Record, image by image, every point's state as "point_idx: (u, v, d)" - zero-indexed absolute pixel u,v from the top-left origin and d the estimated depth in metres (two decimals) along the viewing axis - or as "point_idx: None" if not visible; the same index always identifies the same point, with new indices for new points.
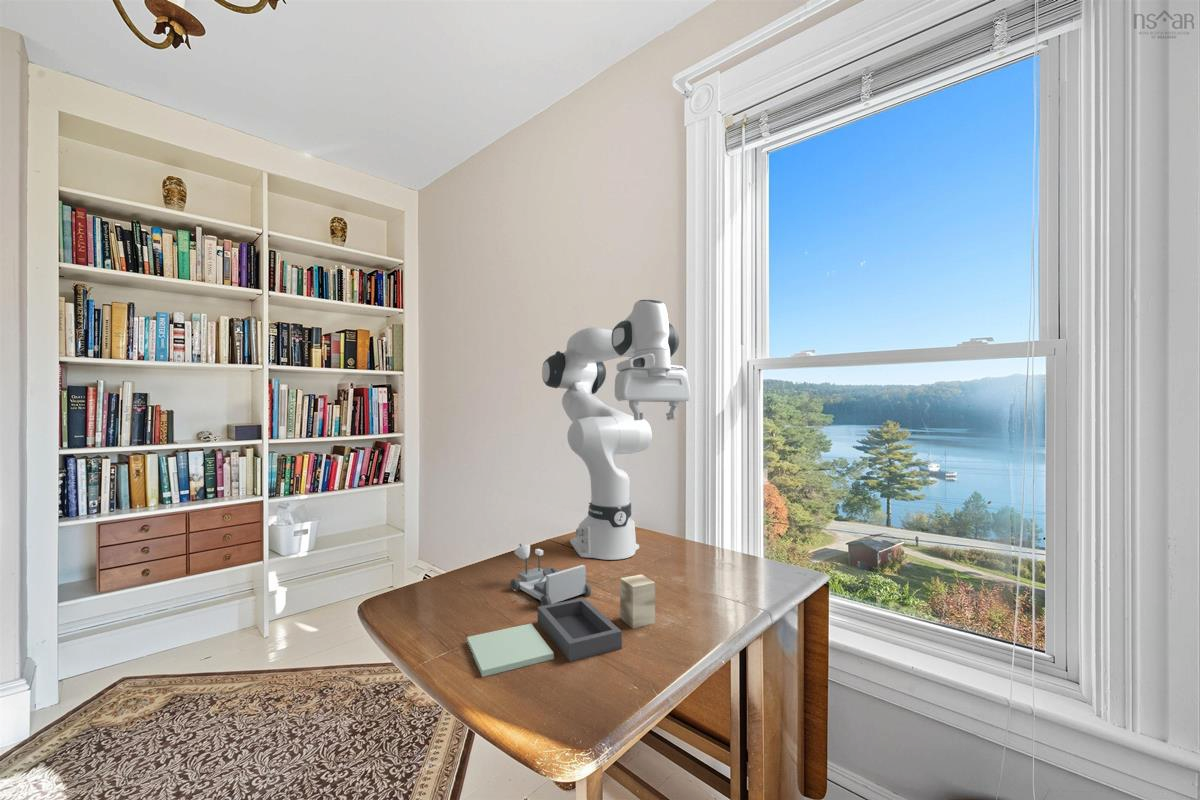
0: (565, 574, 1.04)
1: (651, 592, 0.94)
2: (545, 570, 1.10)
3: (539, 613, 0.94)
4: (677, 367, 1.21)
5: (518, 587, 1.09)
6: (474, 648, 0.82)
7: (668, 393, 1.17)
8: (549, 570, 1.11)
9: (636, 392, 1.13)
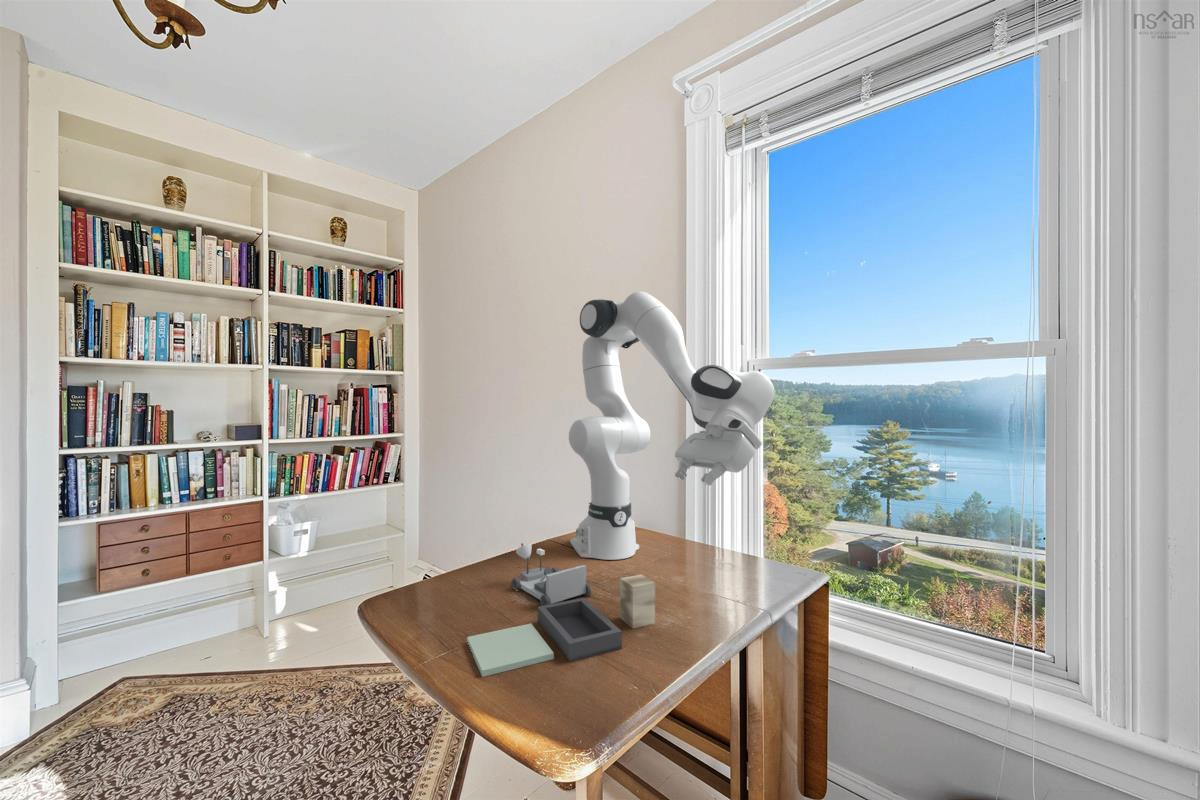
0: (565, 574, 1.04)
1: (651, 592, 0.94)
2: (546, 570, 1.10)
3: (539, 613, 0.94)
4: None
5: (519, 586, 1.10)
6: (474, 648, 0.82)
7: None
8: (550, 570, 1.11)
9: None
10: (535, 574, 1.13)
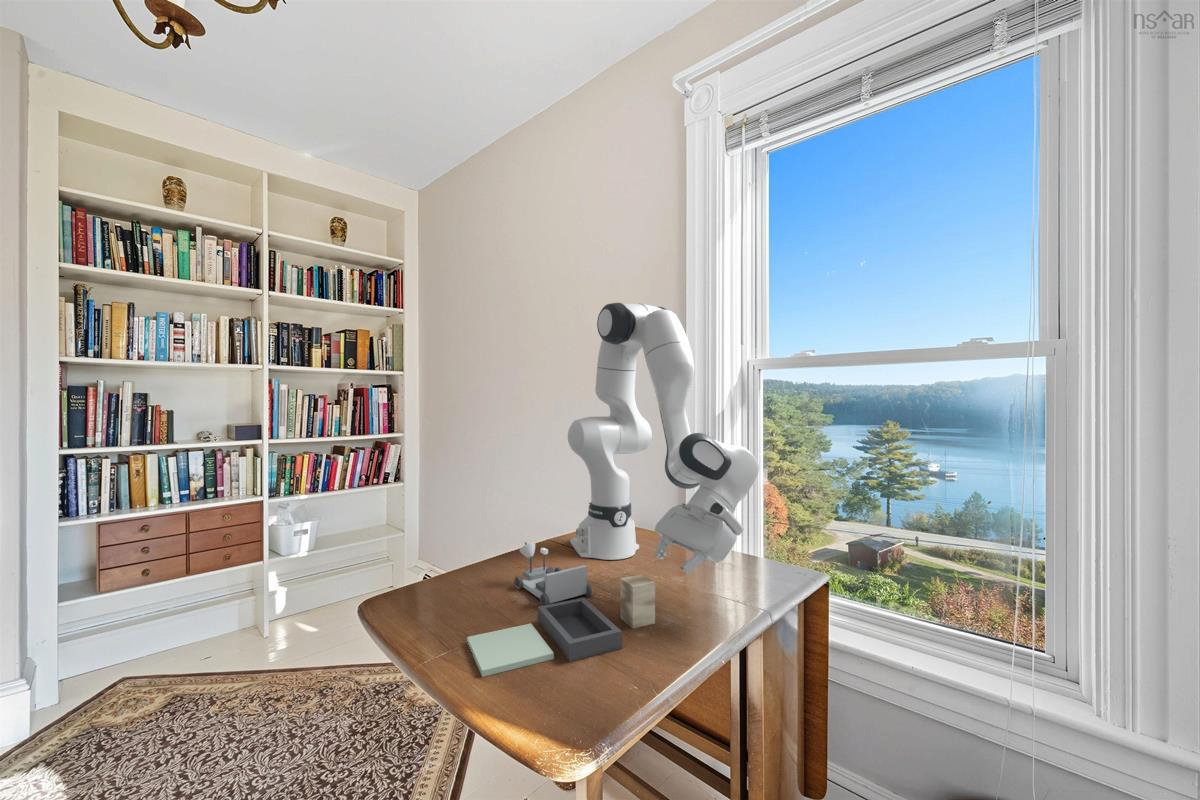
0: (565, 574, 1.04)
1: (651, 592, 0.94)
2: (548, 569, 1.11)
3: (539, 613, 0.94)
4: None
5: (521, 585, 1.10)
6: (474, 648, 0.82)
7: None
8: (552, 569, 1.11)
9: None
10: (538, 573, 1.14)
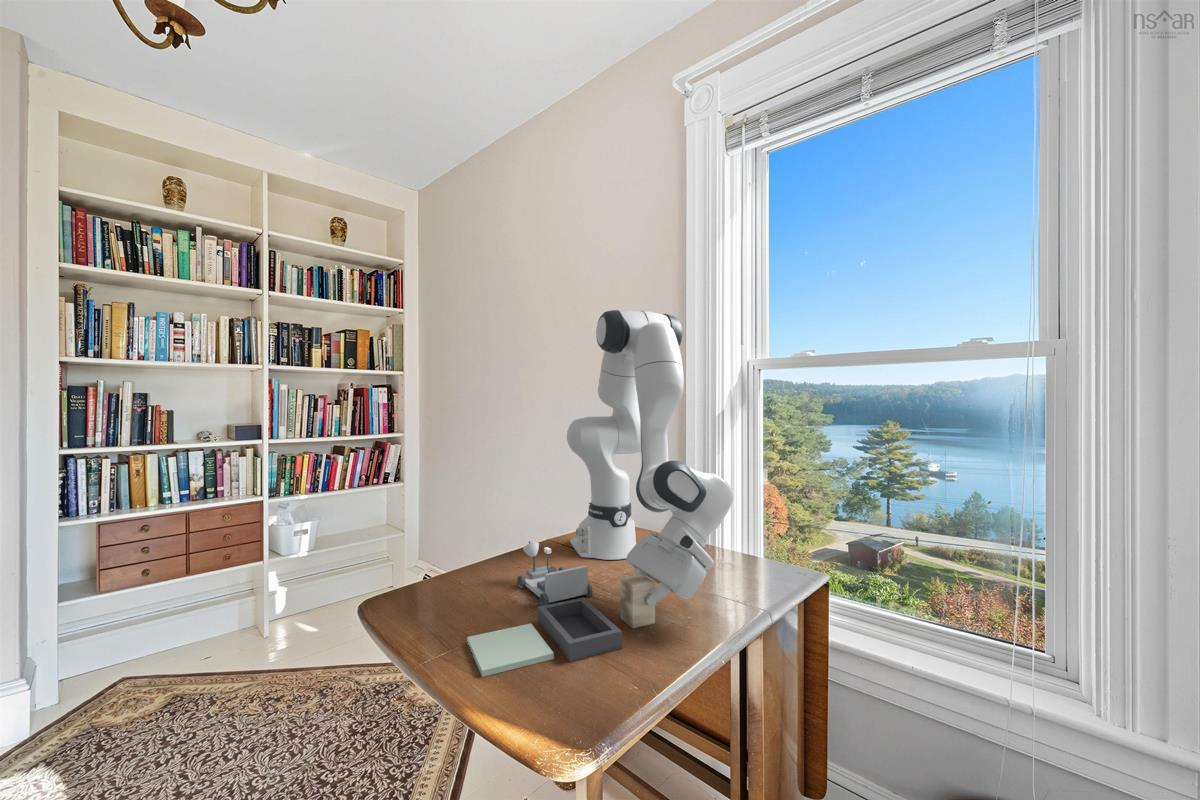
0: (565, 574, 1.04)
1: (651, 592, 0.94)
2: (550, 569, 1.11)
3: (539, 613, 0.94)
4: None
5: (523, 584, 1.11)
6: (474, 648, 0.82)
7: None
8: (554, 569, 1.11)
9: None
10: (541, 572, 1.14)
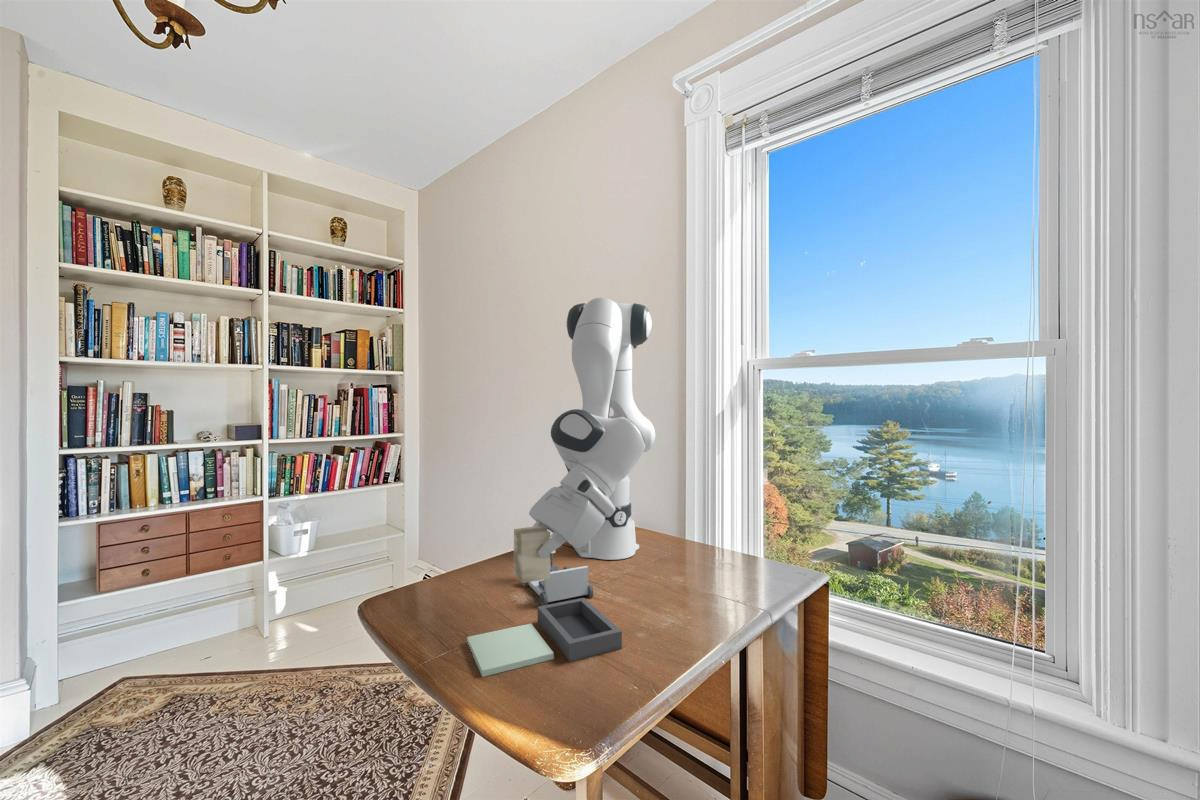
0: (565, 573, 1.04)
1: None
2: (552, 568, 1.11)
3: (539, 613, 0.94)
4: None
5: (526, 582, 1.12)
6: (474, 648, 0.82)
7: None
8: (557, 568, 1.12)
9: None
10: None
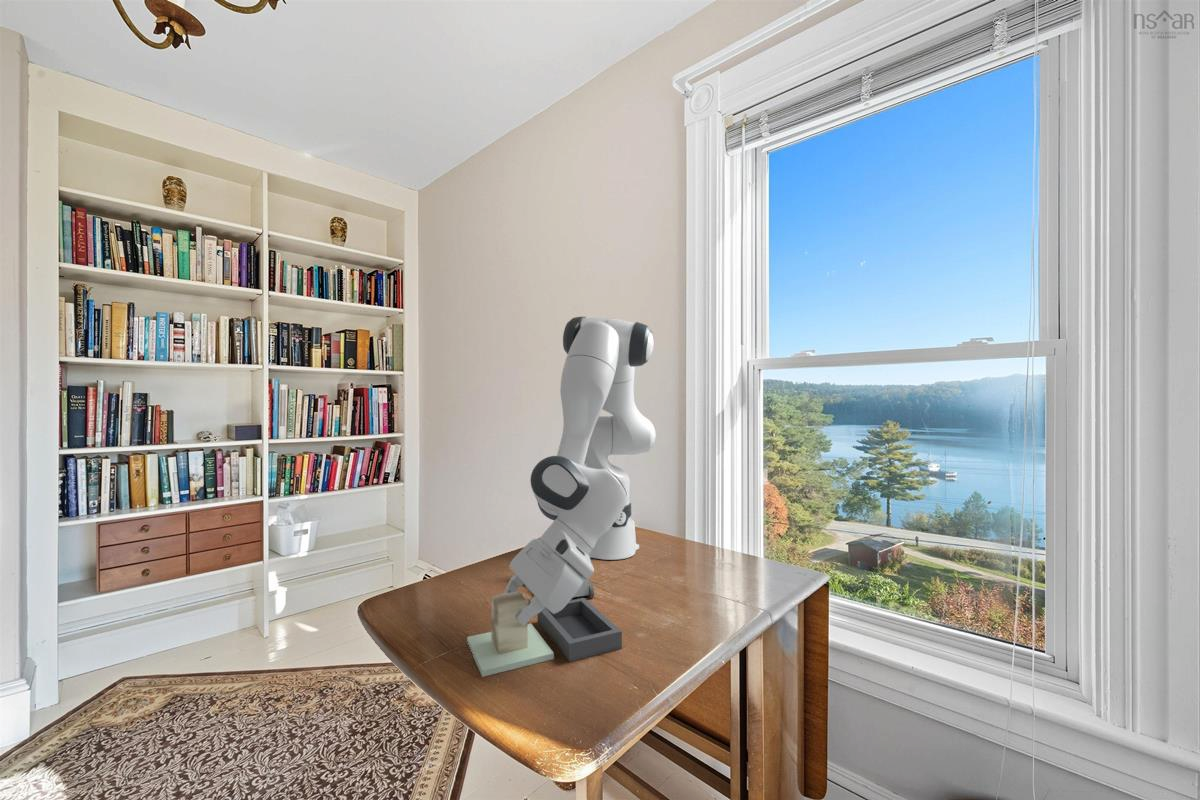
0: None
1: None
2: None
3: (539, 613, 0.94)
4: None
5: None
6: (474, 648, 0.82)
7: None
8: None
9: None
10: None
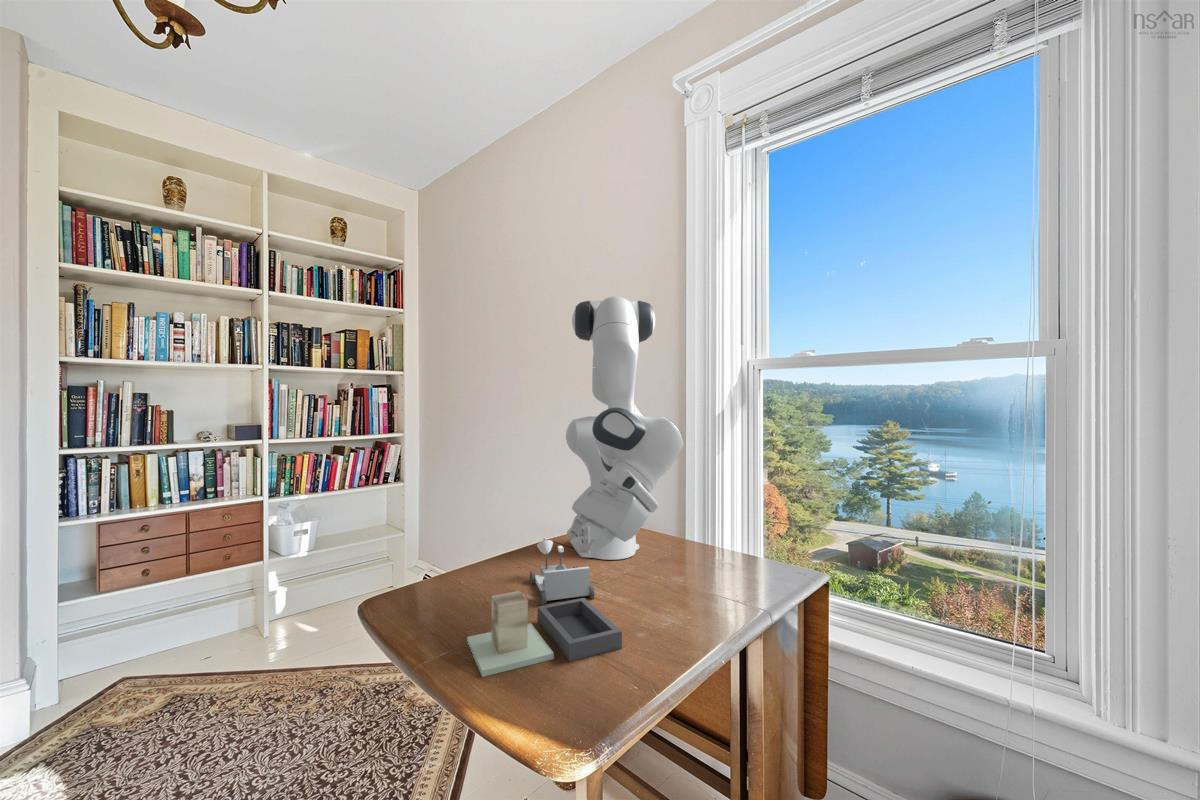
0: (565, 573, 1.04)
1: (523, 612, 0.82)
2: (558, 567, 1.12)
3: (539, 613, 0.94)
4: None
5: (533, 580, 1.14)
6: (474, 648, 0.82)
7: None
8: (562, 568, 1.12)
9: None
10: (552, 570, 1.16)
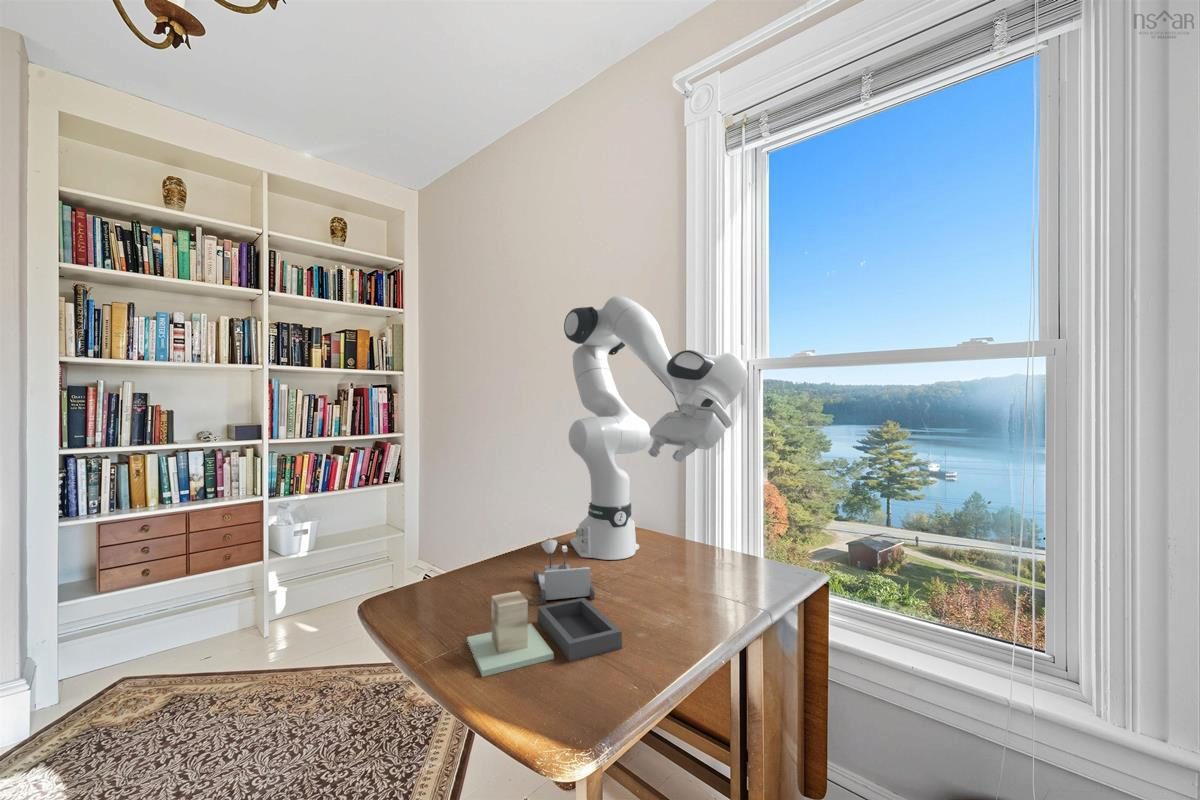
0: (565, 573, 1.04)
1: (523, 612, 0.82)
2: (560, 567, 1.12)
3: (539, 613, 0.94)
4: None
5: (536, 579, 1.14)
6: (474, 648, 0.82)
7: None
8: (564, 567, 1.12)
9: None
10: (556, 570, 1.16)
